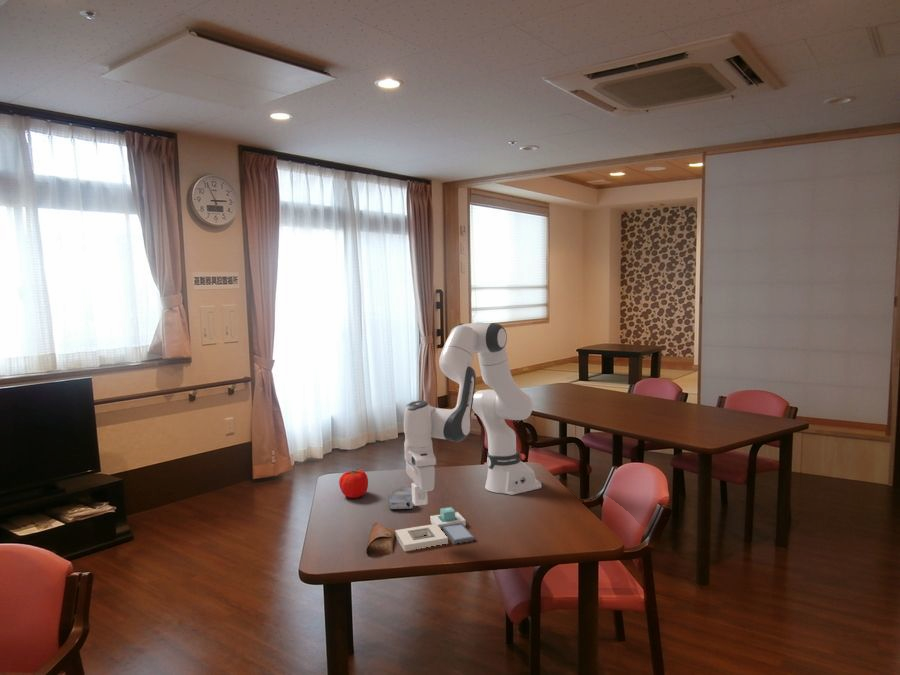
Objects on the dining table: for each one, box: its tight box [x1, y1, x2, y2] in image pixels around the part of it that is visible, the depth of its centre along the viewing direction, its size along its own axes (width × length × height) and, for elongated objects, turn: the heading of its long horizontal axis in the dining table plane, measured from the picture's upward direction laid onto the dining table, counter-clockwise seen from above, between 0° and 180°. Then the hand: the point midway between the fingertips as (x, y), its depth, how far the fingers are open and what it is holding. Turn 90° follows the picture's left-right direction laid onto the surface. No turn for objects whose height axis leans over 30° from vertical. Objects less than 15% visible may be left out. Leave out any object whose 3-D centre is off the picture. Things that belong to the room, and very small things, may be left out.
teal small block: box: [439, 506, 456, 522], centre depth 199 cm, size 4×4×5 cm
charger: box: [410, 482, 428, 507], centre depth 186 cm, size 4×4×6 cm
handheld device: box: [387, 486, 415, 510], centre depth 222 cm, size 10×20×5 cm, turn 0°
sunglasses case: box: [365, 522, 396, 556], centre depth 186 cm, size 18×7×7 cm
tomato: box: [338, 467, 369, 499], centre depth 229 cm, size 11×13×10 cm
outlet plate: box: [394, 523, 449, 552], centre depth 187 cm, size 14×12×2 cm
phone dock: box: [429, 511, 476, 545], centre depth 194 cm, size 10×20×2 cm, turn 19°
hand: (419, 496), depth 186 cm, fingers closed on charger, 4 cm apart
